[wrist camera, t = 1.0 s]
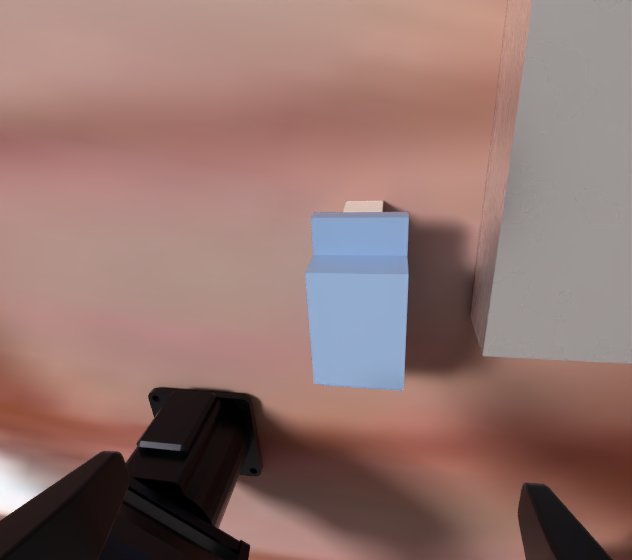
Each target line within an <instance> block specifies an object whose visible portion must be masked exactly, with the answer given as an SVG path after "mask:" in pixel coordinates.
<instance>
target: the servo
mask: <svg viewBox="0 0 632 560" xmlns="http://www.w3.org/2000/svg"><path fill="white" fill-rule="evenodd" d="M408 226H409V214H408V212H383V201H347V202H346V205H345V207H344V210H343V212H314V213H313V215H312V217H311V228H312V243H313V257H312V259H311V261H310V263H309V265H308V268H307V270H306V272H305V276H306V289H307V302H308V314H309V327H310V340H311V352H312V365H313V378H314V383H317V384H322V385H325V386H340V387H355V388H369V389H384V390H399V391H402V389H404V371H405V347H406V323H407V299H408V275H409V274H408V259H407V251H408Z"/></svg>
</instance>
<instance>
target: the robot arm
mask: <svg viewBox="0 0 632 560" xmlns="http://www.w3.org/2000/svg"><path fill="white" fill-rule="evenodd" d="M148 398H149V402H150V405H151V408H152V411H153V415H154V419H153V420H152V422H151V423H150V425H149V426H148V427H147V429H146V430H145V432H144V433H143V434H142V436H141V437H140V439H139V440H138V442H137V448H136V449H135V450H134V452H133V453H132V455H131V456H130V458H129V459H128V460H127V462H126V463H125V461H124V458H123V456H122V454H121V453H120V452H117V451H103V452H100V453H99V454H97V455H96V456H94V457H93V458H91V459H90V460H88V461H87V462H86V463H84V464H83V465H81V466H80V467H78V468H77V469H75V470H74V471H72V472H71V473H69V474H68V475H66V476H65V477H64V478H62V479H61V480H59V481H58V482H56V483H55V484H53V485H52V486H50V487H49V488H47V489H46V490H44V491H43V492H42V493H40V494H39V495H37V496H36V497H34V498H33V499H31V500H30V501H28V502H27V503H25V504H24V505H22V506H21V507H20V508H18V509H17V510H15V511H14V512H12V513H11V514H9V515H8V516H6V517H5V518H3V519H2V520H0V560H248V557H249V551H250V545H249V544H247V543H246V542H244V541H242V540H240V541H238V540H237V539H235V538H233V537H232V536H230V535H228V534H227V533H225V532H223V531H222V530H220V529H218V528H219V526H220V523H221V521H222V518H223V516H224V513H225V510H226V508H227V505H228V503H229V500H230V498H231V495H232V493H233V490H234V487H235V485H236V482H237V480H238V477H239V475H247V476H259V475H260V474H261V471H262V468H263V466H262V460H261V454H260V448H259V442H258V435H257V429H256V423H255V417H254V411H253V405H252V400H251V398H250V397H249V396H247V395H244V394H234V393H220V392H207V391H193V390H180V389H167V388H154V389H153V390H152V391H151V392H150V393H149V395H148ZM241 402H243V403H244V404H242V403H241ZM518 520H519V526H520V531H521V536H522V541H523V546H524V552H525V557H526V560H613V559H612V558H611V557H610V556H609V555H608V554H607V553H606V551H605V550H604V549H603V548H602V547H601V546H600V545H599V544H598V542H597V541H596V540H595V539H594V538H593V537H592V536H591V535H590V533H589V532H588V531H587V530H586V529H585V528H584V527H583V525H582V524H581V523H580V522H579V521H578V520H577V519H576V518H575V516H574V515H573V514H572V513H571V512H570V511H569V510H568V509H567V507H566V506H565V505H564V504H563V503H562V502H561V501H560V499H559V498H558V497H557V496H556V495H555V494H554V493H553V492H552V490H551V489H550V488H549V487H548V486H546V485H544V484H539V483H524V484H523V486H522V490H521V495H520V501H519V507H518Z"/></svg>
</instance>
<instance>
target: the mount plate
mask: <svg viewBox="0 0 632 560" xmlns="http://www.w3.org/2000/svg"><path fill="white" fill-rule="evenodd" d="M470 317H471V320H472V323H473V326H474V330H475V333H476V336H477V339H478V343H479V346H480V349H481V352H482V356H491V357H511V358H530V359H550V360H569V361H589V362H608V363H627V364H632V0H508V3H507V11H506V20H505V28H504V37H503V45H502V53H501V62H500V70H499V79H498V87H497V96H496V104H495V112H494V121H493V129H492V138H491V146H490V154H489V163H488V171H487V180H486V188H485V197H484V205H483V213H482V222H481V230H480V239H479V247H478V256H477V264H476V272H475V281H474V289H473V298H472V306H471V314H470Z"/></svg>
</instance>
